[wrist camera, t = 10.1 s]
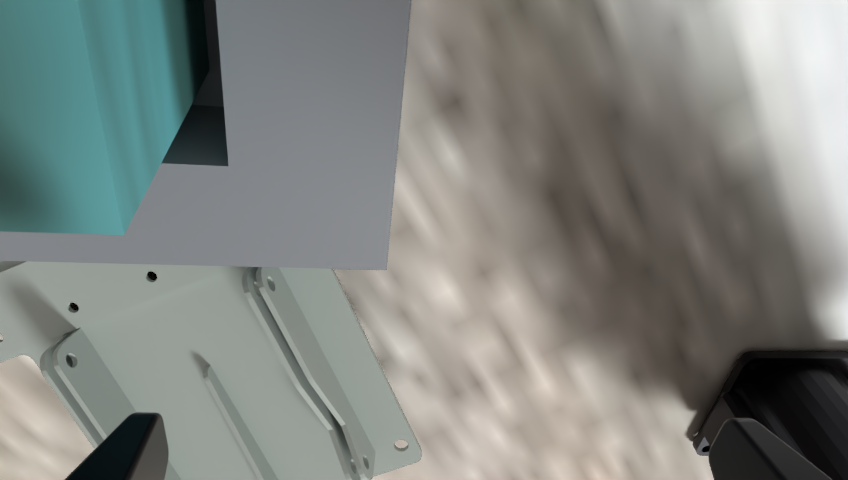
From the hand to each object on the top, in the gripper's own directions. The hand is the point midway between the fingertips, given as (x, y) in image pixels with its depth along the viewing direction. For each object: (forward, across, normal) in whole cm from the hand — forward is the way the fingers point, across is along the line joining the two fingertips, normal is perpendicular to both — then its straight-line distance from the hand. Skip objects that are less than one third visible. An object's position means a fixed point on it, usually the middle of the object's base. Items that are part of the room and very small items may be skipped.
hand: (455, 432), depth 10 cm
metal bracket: (+12, +6, +9) cm, 16 cm away
